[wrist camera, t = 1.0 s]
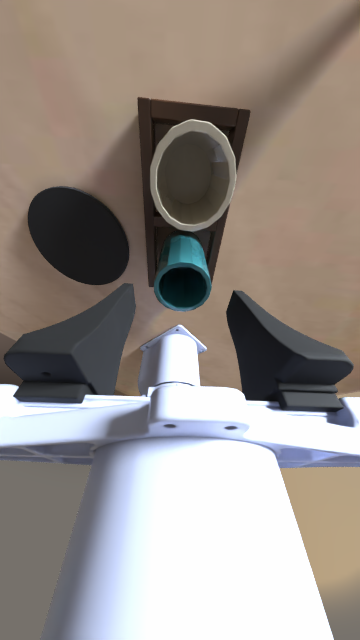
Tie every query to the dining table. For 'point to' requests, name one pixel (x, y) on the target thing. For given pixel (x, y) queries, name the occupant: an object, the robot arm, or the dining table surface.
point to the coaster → (78, 235)
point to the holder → (148, 115)
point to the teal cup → (182, 273)
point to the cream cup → (192, 175)
